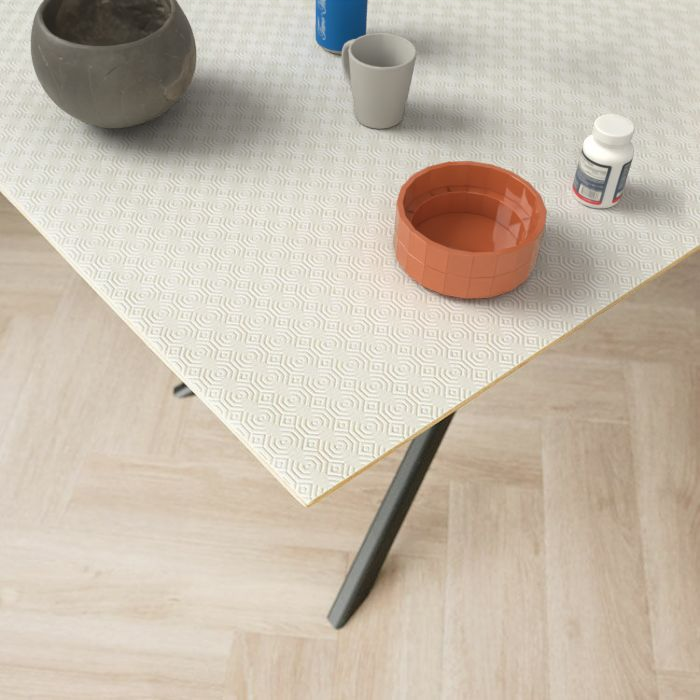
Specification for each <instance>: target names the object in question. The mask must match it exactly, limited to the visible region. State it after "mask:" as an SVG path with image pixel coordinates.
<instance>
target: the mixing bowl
mask: <svg viewBox="0 0 700 700" xmlns="http://www.w3.org/2000/svg"><path fill="white" fill-rule="evenodd" d="M395 204H396V205H395V215H394V216H395V217H394V231H393V240H392V243H393V244H392V245H393V251H394V256H395V259H396V261H397V262H398V264H399V265H400V267H401V269H402V270H403V271H404V273H406V275H407V276H409V277H410V278H411V279H412V280H414V281H415V282H417V284H419V285H421V286H422V287H423V288H427V289H429V290H431V291H433V292H435V293H437V294H441V295H444V296H449V297H456V298H460V299H467V300H468V299H485V298H486V299H489V298H493V297H497V296H500V295H503V294H506V293H510V292H511V291H513V290H515V289H517V288H518V287H519V286H520V285H522V284H523V283H525V282H527V280H528V278H529V277H530V275H532V272H533V271H534V270H535V268H536V265H537V262H538V261H537V260H538V257H539V253H540V249H541V244H542V241H543V236H544V232H545V228H546V223H547V222H546V221H547V214H548V212H547V207H546V205H545V202H544V199H543V197H542V195H541V194H540V193H539V192H538V191H537V189H536V188H535V187H534V186H533V185H532V184H531V183H530V182H529V181H527V180H526V179H525V178H523V177H521V176H520V175H518V174H516V173H515V172H513V171H512V170H509V169H506V168H503V167H501V166H498V165H495V164H491V163H486V162H479V161H472V160H458V161H445V162H440V163H437V164H433V165H429V166H426V167H425V168H423V169H421V170H419V171H417V172H415V173H413V174H411V176H410V177H409V178H408V179H407V180H406V181H405V182H404V183H403V185H402V186H401V187H400V189H399V191H398V195H397V199H396V203H395Z"/></svg>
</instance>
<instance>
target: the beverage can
mask: <svg viewBox="0 0 700 700" xmlns="http://www.w3.org/2000/svg"><path fill="white" fill-rule="evenodd" d="M368 2H369V1H368V0H315V41H316V43H317V44H318V46H319V47H321V48H322V49H324V50H325V51H327V52H329V53H331V54H336V55H342V49H343V46H344V44H345V43H346V42H348V41H350V40H352V39H357V38H359V37H361V36H364V35H367V24H368V23H367V22H368Z"/></svg>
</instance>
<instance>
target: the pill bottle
mask: <svg viewBox="0 0 700 700" xmlns="http://www.w3.org/2000/svg"><path fill="white" fill-rule="evenodd" d="M634 132H635V125H634V123H633V121H632V120H631V119H629V118H627V117H625V116H623V115H620V114H616V113H615V114H614V113H606V114H601V115H600V116H598V117H597V118H596V119H595V120H594V123H593V127H592V130H591V133H590V134H589V135H587V137H586V138H585V139H584V141H583V143H582V145H581V150H580V153H579V157H578V162H577V166H576V170H575V174H574V177H573V181H572V186H571V192H572V196H573V197H574V199H576V201H577V202H579V203H580V204H582V205H583V206H586V207H589V208H593V209H607V208H611V207H614V206H615V205H617V204H618V203H619V202H620V200H621V199H622V196H623V193H624V189H625V186H626V182H627V180H628V176H629V173H630V169H631V166H632V162H633V159H634V156H635V146H634V144H633V142H632V140H633V136H634Z"/></svg>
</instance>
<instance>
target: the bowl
mask: <svg viewBox="0 0 700 700" xmlns="http://www.w3.org/2000/svg"><path fill="white" fill-rule="evenodd" d="M197 55H198V54H197V44H196V39H195V35H194V31H193V28H192V26H191V24H190V21H189V19H188V16H186V13H185V11H184V10H183V8H182V7H181V5H180V4H179V2H178V1H177V0H42V1H41V3H40V4H39V6H38V8H37V10H36V13H35V14H34V17H33V21H32V26H31V32H30V56H31V63H32V66H33V70H34V72H35V75H36V78H37V81H38V82H39V83H40V86H41V87H42V89H43V91H44V92H45V94H46V95H47V97H49V99H50V100H51V101H52V102H53V103H54V104H55V105H56V106H57V107H58V108H59V109H60V110H61V111H63V112H64V113H66V114H67V115H69V116H71V117H72V118H74V119H76V120H78V121H80V122H83V123H84V124H87V125H91V126H94V127H99V128H103V129H104V128H105V129H126V128H130V127H135V126H138V125H141V124H142V125H143V124H145V123H147V122H150V121H152V120H154V119H157V118H158V117H160V116H161V115H163V114H164V113H166V112H167V111H168V110H170V109H171V108H172V107H173V106H174V105H175V104H176V103H178V101H180V99H181V98H182V97H183V96H184V94H185V93H186V92H187V91H188V88H189V87H190V85H191V83H192V81H193V78H194V74H195V71H196V66H197V57H198V56H197Z"/></svg>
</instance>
